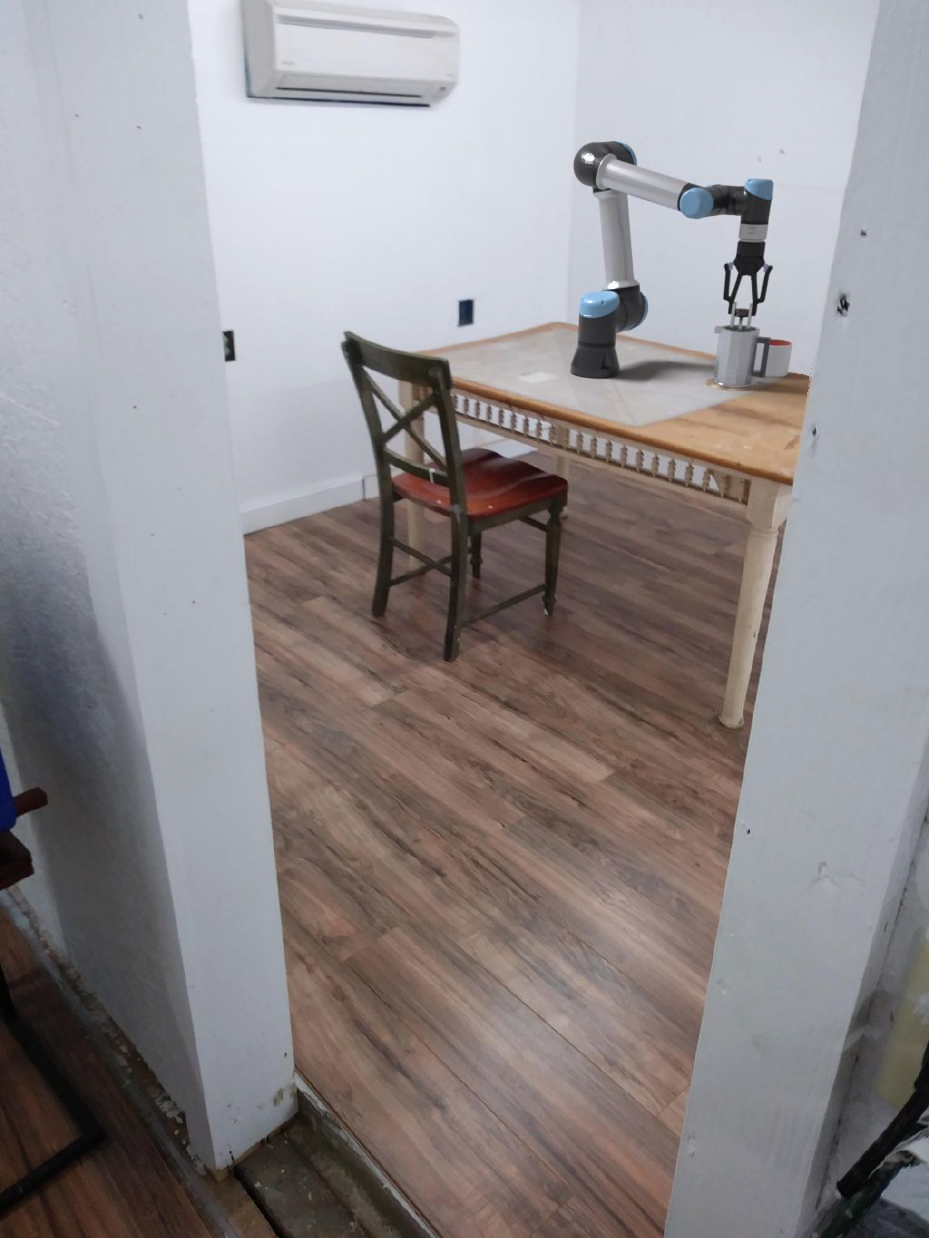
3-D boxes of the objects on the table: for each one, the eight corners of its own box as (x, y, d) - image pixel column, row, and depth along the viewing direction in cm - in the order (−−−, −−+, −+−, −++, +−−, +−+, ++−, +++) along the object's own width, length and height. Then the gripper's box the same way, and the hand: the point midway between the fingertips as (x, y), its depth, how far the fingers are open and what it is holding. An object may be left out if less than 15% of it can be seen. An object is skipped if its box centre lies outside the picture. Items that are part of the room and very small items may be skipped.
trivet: (700, 389, 280) (700, 387, 280) (709, 377, 293) (709, 375, 293) (756, 395, 275) (756, 393, 275) (763, 382, 288) (763, 380, 288)
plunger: (721, 349, 277) (726, 311, 272) (725, 343, 283) (730, 306, 278) (749, 351, 274) (755, 313, 269) (753, 346, 281) (758, 308, 276)
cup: (788, 380, 291) (794, 346, 286) (754, 378, 292) (759, 345, 288) (785, 372, 299) (790, 339, 295) (752, 370, 301) (757, 338, 296)
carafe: (705, 385, 282) (712, 330, 274) (711, 377, 291) (718, 323, 283) (760, 391, 276) (769, 334, 269) (765, 382, 285) (773, 327, 278)
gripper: (718, 240, 265) (708, 326, 276) (782, 243, 259) (769, 331, 270) (722, 237, 271) (712, 322, 282) (785, 240, 265) (772, 326, 276)
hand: (740, 326), depth 276 cm, fingers closed on plunger, 4 cm apart
